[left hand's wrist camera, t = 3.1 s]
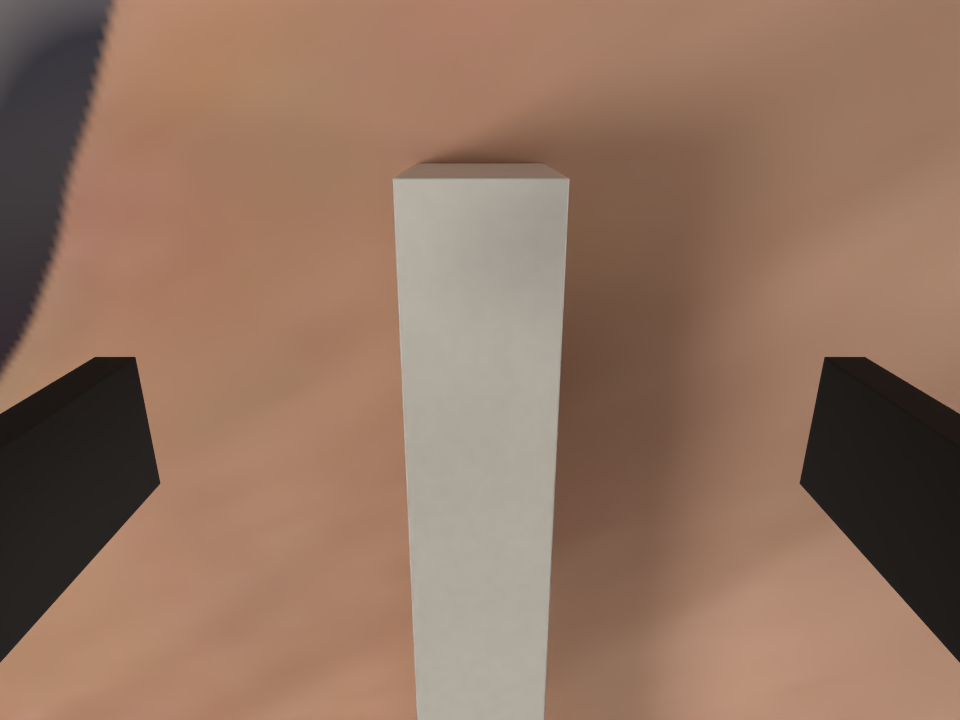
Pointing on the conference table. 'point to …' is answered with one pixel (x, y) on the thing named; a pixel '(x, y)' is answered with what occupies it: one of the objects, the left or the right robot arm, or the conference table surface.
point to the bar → (480, 427)
